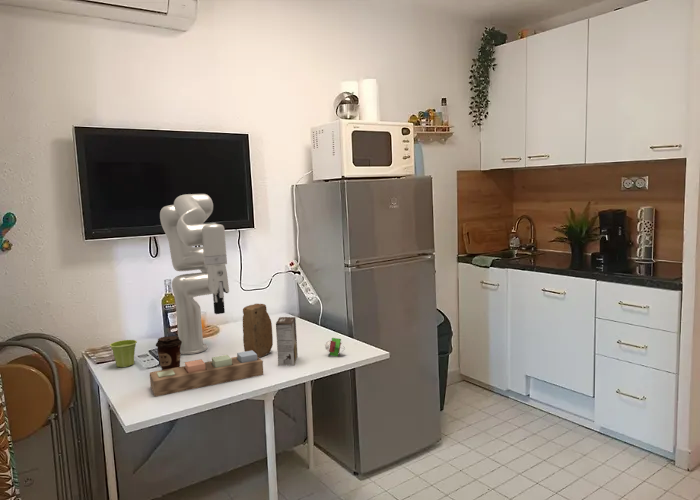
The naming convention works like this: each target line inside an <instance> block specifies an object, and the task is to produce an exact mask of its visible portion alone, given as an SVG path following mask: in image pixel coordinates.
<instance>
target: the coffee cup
mask: <svg viewBox="0 0 700 500" xmlns="http://www.w3.org/2000/svg"><path fill="white" fill-rule="evenodd" d="M181 344H182V341H181V340H180V339H179V337H178V335H170V336H169V335H168V336H162V337H159V338H157V342H156V343H155V346H156V347H157V355H158V359H159V365H160V368H161V370H166V369H171V368H177V367H181V355H182V354H181V352H180V348H181Z"/></svg>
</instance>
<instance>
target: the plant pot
mask: <svg viewBox="0 0 700 500" xmlns="http://www.w3.org/2000/svg"><path fill="white" fill-rule="evenodd" d="M136 346H137V340H135V339H124V340H123V339H122V340H117V341H114V342H112V343H110V344H109V347H110V348H111V350H112V353H113V356H114V361H115V365H116V367H117V368H119V367H120V368H127V367H130V366H133V365H134V364H135V353H136V352H135V351H136Z"/></svg>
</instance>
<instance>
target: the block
mask: <svg viewBox="0 0 700 500" xmlns="http://www.w3.org/2000/svg"><path fill="white" fill-rule="evenodd" d="M267 311H268V309H267V305H266V304H264V303H254V304H250V305H246V306H245V307H243V309H242V314H243V316H242V334H243V336H242V338H243V339H242V341H243V350H244V351H243V352H245V351H251V350H253V351H254V352H255V353H256V354H257V356H258V357H259V358H262V357H265V356H267V355H269V354H270V353H271V351H272V348H273V343H274V342H273V341H274V340H273V339H274V338H273V324H272V320H271V317H270V315H269V313H268V312H267Z"/></svg>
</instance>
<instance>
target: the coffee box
mask: <svg viewBox="0 0 700 500" xmlns="http://www.w3.org/2000/svg"><path fill="white" fill-rule="evenodd" d="M296 319H297V317H295V316H282V317H281V316H280V317H278V319H277V321H276V323H275V328H276V329H275V330H276V348H277V351H276V353H277V365H278V366H280V367H281V366H283V367H284V366H286V365H287V366H295V365H296V363H297V360H298V356H299V355H298V341H297V339H298V338H297V322H296Z"/></svg>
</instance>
